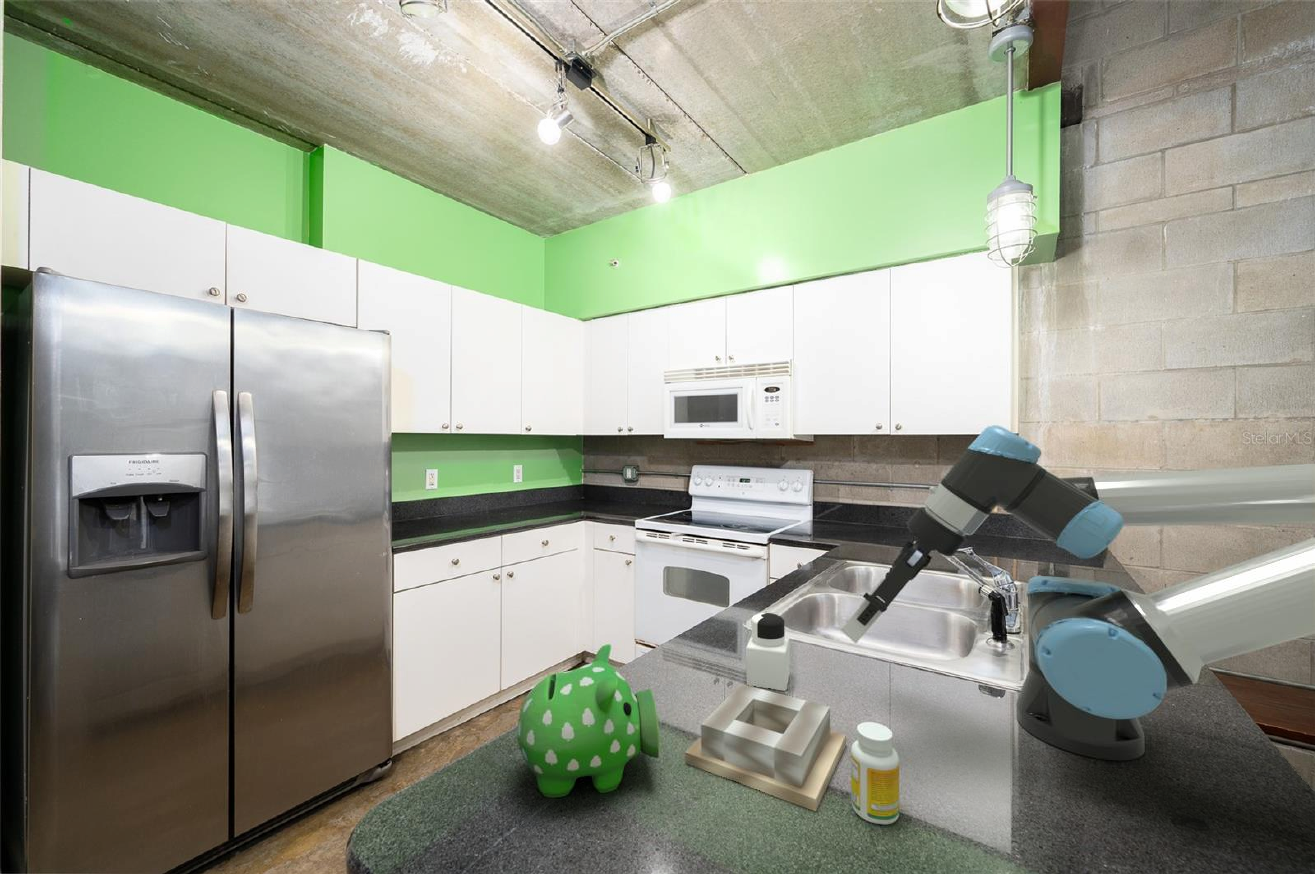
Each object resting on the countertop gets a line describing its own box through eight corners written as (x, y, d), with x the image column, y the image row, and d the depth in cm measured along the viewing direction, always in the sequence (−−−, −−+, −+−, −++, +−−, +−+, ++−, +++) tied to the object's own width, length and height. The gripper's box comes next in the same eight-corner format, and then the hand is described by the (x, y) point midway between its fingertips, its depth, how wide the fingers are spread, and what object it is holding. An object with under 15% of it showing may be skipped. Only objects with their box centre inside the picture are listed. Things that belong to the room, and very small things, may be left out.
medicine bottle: (789, 674, 99) (789, 611, 99) (786, 691, 92) (785, 624, 92) (752, 669, 101) (751, 608, 101) (746, 686, 95) (745, 620, 95)
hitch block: (846, 745, 76) (845, 707, 76) (815, 811, 62) (815, 765, 62) (732, 711, 85) (732, 678, 86) (685, 762, 72) (684, 723, 72)
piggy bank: (662, 803, 64) (661, 681, 64) (511, 821, 61) (510, 693, 61) (647, 738, 78) (646, 638, 78) (523, 750, 75) (523, 646, 76)
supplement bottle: (842, 808, 63) (841, 728, 63) (865, 789, 66) (864, 713, 66) (885, 833, 59) (884, 748, 59) (908, 812, 62) (906, 731, 62)
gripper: (929, 497, 89) (854, 587, 95) (911, 514, 68) (817, 629, 74) (971, 525, 86) (891, 617, 92) (965, 552, 65) (862, 669, 71)
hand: (857, 622), depth 83 cm, fingers open, 13 cm apart
